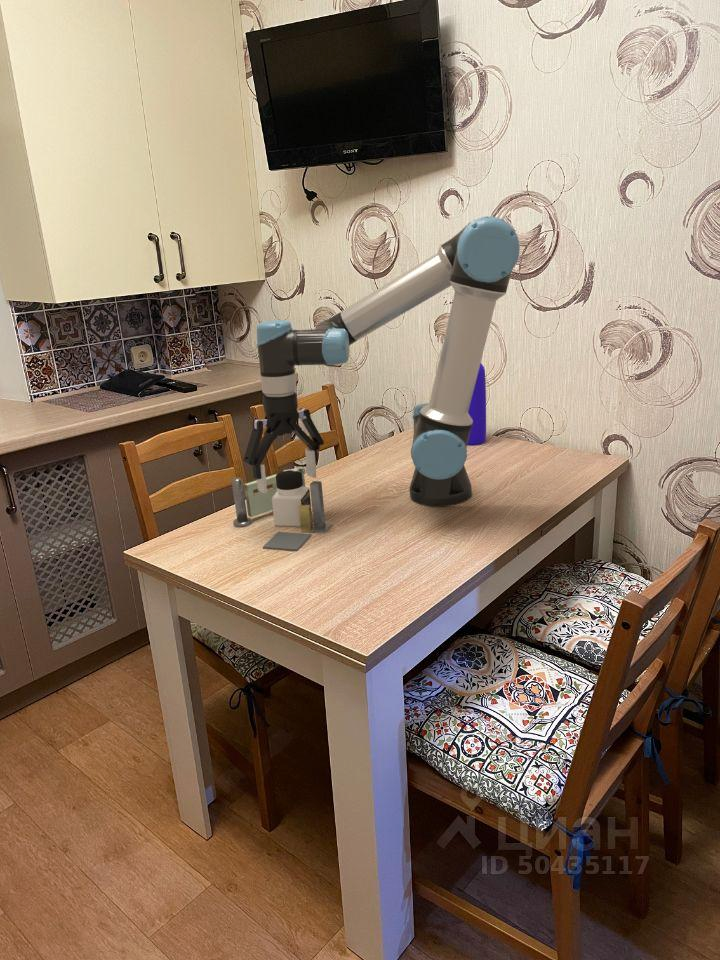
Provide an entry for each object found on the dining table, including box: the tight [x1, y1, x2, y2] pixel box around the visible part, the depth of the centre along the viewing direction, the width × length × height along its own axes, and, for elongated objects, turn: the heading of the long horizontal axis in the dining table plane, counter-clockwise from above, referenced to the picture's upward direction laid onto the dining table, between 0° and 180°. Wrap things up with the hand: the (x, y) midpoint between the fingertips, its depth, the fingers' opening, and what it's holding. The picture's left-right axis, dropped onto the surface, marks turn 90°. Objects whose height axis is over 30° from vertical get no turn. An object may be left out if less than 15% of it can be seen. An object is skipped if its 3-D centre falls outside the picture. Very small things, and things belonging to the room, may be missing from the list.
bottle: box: [467, 362, 487, 446], centre depth 208 cm, size 8×8×30 cm
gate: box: [243, 466, 306, 518], centre depth 170 cm, size 16×1×8 cm, turn 129°
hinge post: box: [231, 476, 253, 528], centre depth 164 cm, size 4×4×11 cm
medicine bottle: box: [272, 468, 313, 527], centre depth 163 cm, size 7×7×12 cm
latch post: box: [299, 480, 333, 534], centre depth 158 cm, size 6×4×11 cm
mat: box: [262, 531, 312, 552], centre depth 154 cm, size 8×8×1 cm
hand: (287, 483), depth 162 cm, fingers open, 13 cm apart
